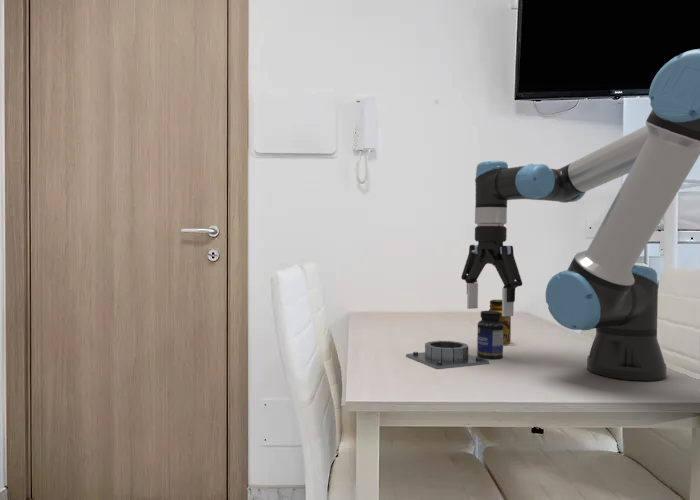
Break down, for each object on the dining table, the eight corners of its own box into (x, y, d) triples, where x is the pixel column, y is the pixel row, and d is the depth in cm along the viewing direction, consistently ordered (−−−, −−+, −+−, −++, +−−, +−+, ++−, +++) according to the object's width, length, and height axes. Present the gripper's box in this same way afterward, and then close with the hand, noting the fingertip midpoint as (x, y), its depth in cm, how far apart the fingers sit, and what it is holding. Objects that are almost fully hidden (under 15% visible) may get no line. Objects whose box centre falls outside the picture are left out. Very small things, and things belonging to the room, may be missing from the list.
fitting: (489, 363, 120) (489, 348, 120) (437, 369, 115) (437, 352, 115) (454, 352, 133) (454, 337, 133) (406, 356, 128) (406, 341, 128)
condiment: (516, 345, 143) (516, 301, 142) (486, 346, 141) (487, 302, 141) (504, 340, 150) (505, 298, 150) (476, 341, 149) (476, 299, 148)
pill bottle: (472, 355, 129) (472, 311, 129) (491, 353, 132) (491, 309, 132) (488, 360, 124) (488, 314, 123) (508, 358, 126) (508, 312, 126)
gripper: (539, 224, 117) (537, 318, 118) (472, 226, 140) (471, 305, 141) (513, 224, 114) (511, 320, 115) (448, 226, 137) (447, 306, 138)
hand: (489, 312), depth 128 cm, fingers open, 13 cm apart
